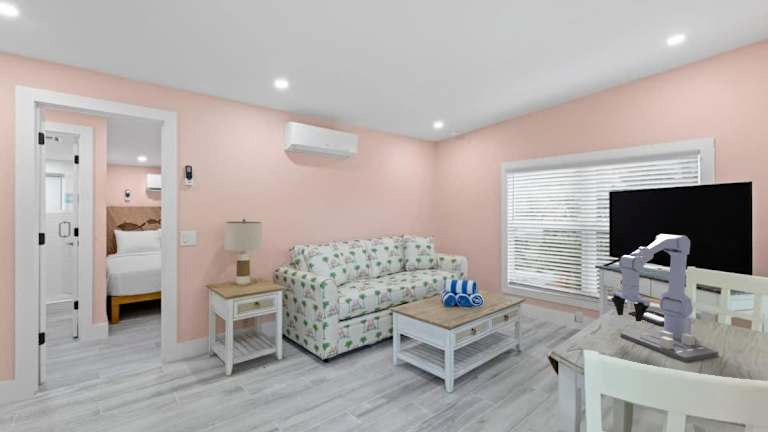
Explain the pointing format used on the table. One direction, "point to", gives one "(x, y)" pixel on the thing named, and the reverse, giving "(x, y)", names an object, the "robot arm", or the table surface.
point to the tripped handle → (666, 334)
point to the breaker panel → (676, 355)
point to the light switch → (651, 317)
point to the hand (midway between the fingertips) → (629, 317)
